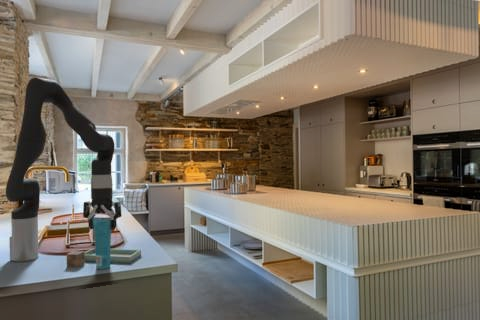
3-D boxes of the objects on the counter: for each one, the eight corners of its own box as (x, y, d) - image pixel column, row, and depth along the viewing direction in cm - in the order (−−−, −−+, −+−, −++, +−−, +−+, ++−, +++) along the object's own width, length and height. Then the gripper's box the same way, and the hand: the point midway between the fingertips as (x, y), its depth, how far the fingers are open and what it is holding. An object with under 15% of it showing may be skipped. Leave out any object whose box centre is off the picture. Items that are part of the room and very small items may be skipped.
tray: (78, 261, 138) (78, 254, 138) (92, 253, 147) (92, 248, 147) (130, 263, 134) (130, 257, 134) (141, 255, 144) (141, 249, 144)
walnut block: (66, 267, 130) (66, 254, 130) (74, 263, 135) (73, 250, 135) (77, 267, 130) (77, 254, 130) (84, 263, 134) (84, 251, 134)
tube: (114, 265, 132) (114, 215, 132) (111, 269, 127) (110, 218, 127) (94, 265, 132) (94, 216, 131) (90, 270, 127) (90, 218, 126)
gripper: (78, 187, 126) (79, 231, 126) (114, 187, 124) (115, 231, 124) (90, 185, 134) (91, 226, 134) (124, 185, 132) (125, 227, 132)
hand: (102, 229), depth 129 cm, fingers open, 8 cm apart
